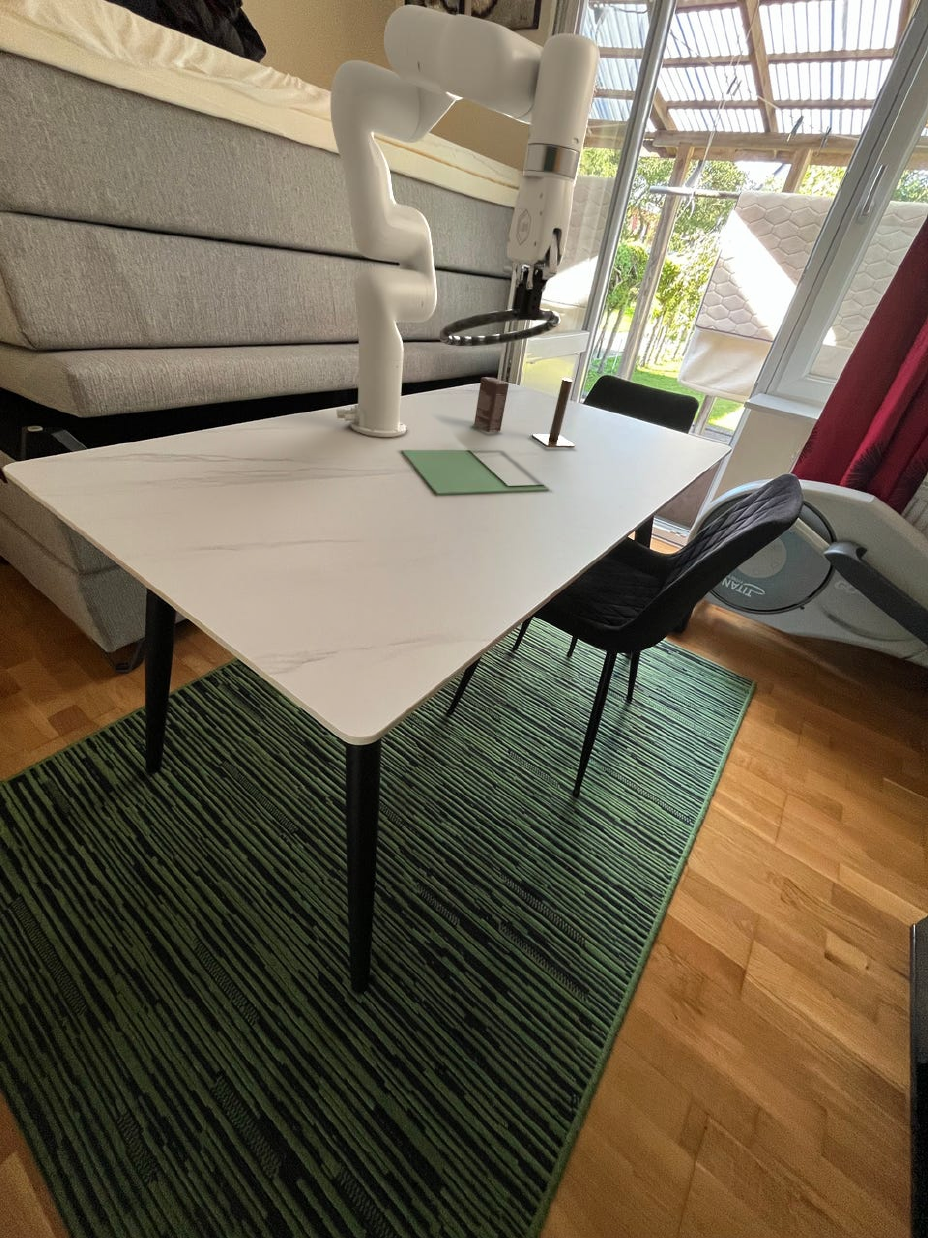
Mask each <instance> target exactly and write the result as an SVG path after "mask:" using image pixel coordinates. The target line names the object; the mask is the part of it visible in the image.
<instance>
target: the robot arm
mask: <svg viewBox="0 0 928 1238" xmlns="http://www.w3.org/2000/svg"><path fill="white" fill-rule="evenodd" d="M383 47H384V52H385V56H386V59H387V61H388V63H389V66H390V67H391V69H392V70H390V69H388V68H386V67H382V66H381V65H377V64H375V63H372V62H369V61H365V60H359V59H351V60H347V61H345V62H344V63H342V64H340V65H339V67H338V68H337V70H336V71H335V74H334V77H333V79H332V84H331V91H330V104H329V105H330V121H331V127H332V132H333V135H334V140H335V143H336V147H337V148H336V149H337V150H338V154H339V158H340V160H341V164H342V168H343V172H344V173H343V174H344V178H345V185H346V193H347V199H348V205H349V213H350V219H351V226H352V232H353V238H354V242H355V246H356V248H357V250H358V252H359V253H360V255H362V256H363V257H365V258H366V259H367V258H368V259H371V260H375V261H383V262H390V263H399V268H398V267H392V266H383V265H374V266H367V267H366V268H364V269H362V270H361V271H360V272H359V273H358V274H357V277H356V278H355V282H354V302H355V306H356V307H355V308H356V314H357V322H358V323H357V324H358V379H357V380H358V384H357V385H358V386H357V387H358V389H357V390H358V391H357V392H358V393H357V404H354V407H350V409H345V408H336V418H337V419H344V421H350V428H352V430H354V431H355V432H358V434H359V433H360V434H363V435H366V436H371V437H376V438H377V437H378V438H394V437H399V436H402V435H404V434H405V433H406V431H407V429H406V427H407V426H406V424H404V422H402V421H400V419H401V417H400V416H401V401H402V387H403V386H402V385H403V371H404V370H403V369H404V352H405V350H404V349H405V348H404V342H403V338H402V336H401V333H400V331H399V329H398V327H397V324H398V323H399V324H400V323H406V324H407V323H408V324H409V323H411V324H412V323H413V324H420V323H425V322H427V321H429V320H430V319H431V318H432V317H433V315H434V312H435V310H436V305H437V283H436V282H437V281H436V273H435V263H434V253H433V251H434V250H433V242H432V234H431V229H430V226H429V224H428V221H427V219H426V218H425V216H424V215H423V214H422V212H421V211H420V210H418V209H416V208H415V207H412V206H409V205H406V204H401V203H397V202H396V200H395V197H394V194H393V189H392V179H391V172H390V168H389V166H388V163H387V160H386V158H385V155H384V153H383V152H382V150H381V148H380V146H379V145H378V143H377V141H376V140H375V138H374V134H377V135H381V136H384V137H387V138H390V139H394V140H397V141H401V142H403V143H409V144H414V143H418V142H420V141H421V140H423V139H424V138H426V136H427V135H428V134H429V133H430V132H431V131H432V130H433V128H434V127H435V126H436V125H437V123H438V122H439V121H440V120H441V119H442V117H443V116H444V115H445V114H447V112H448V111H449V109H450V108H451V107H452V106H453V104H454V103H455V102H456V101H460V100H463V99H464V100H466V101H469V102H472V103H474V104H476V105H479V106H481V107H484V108H486V109H489V110H492V111H494V112H496V113H500V114H502V115H504V116H508V117H509V118H512V119H514V120H516V121H518V122H521V123H524V124H527V125H530V126H529V133H528V139H527V145H526V152H525V158H524V164H523V165H524V166H523V170H522V171H523V172H522V179H521V182H520V186H519V188H518V192H517V196H516V200H515V203H514V207H513V208H514V209H513V214H512V219H511V224H510V229H509V235H508V239H507V247H506V257H507V259H508V260H509V261H512V263H511V266H512V269H513V270H514V272H515V275H516V276H515V283H514V284H515V292H514V296H513V297H514V298H513V304H512V310H513V309H520V312H519V318H520V319H524V320H523V321H535V322H536V321H538V320H537V319H538V314H539V309H541V304H542V303H541V302H542V298H543V293H544V292H545V291H546V287H547V283H548V282H549V280H550V279H553V277H556V275H557V269H558V267H559V266H560V265H561V263H562V260H563V258H564V254H565V250H566V245H567V241H568V240H567V239H568V235H569V229H570V222H571V218H572V217H571V215H572V209H573V201H574V199H573V198H574V188H575V186H576V181H577V176H578V172H579V166H580V161H581V156H582V152H583V147H584V141H585V138H586V133H587V127H588V123H589V122H588V121H589V116H590V113H591V108H592V102H593V98H594V92H595V88H596V83H597V77H598V73H599V66H600V61H601V55H600V53H601V52H600V49H599V46H598V44H597V43H596V42H595V41H594V40H592V39H591V38H589V37H587V36H585V35H583V34H582V35H581V34H578V33H571V32H570V33H569V32H561V33H557V34H554V35H551V36H550V37H548V39H547V40H546V41H545V43H544V44H543V46H542V45H539V44H537V43H534V42H533V41H531V40H529V39H528V38H527V37H524V36H522V35H521V34H519V33H518V32H515V31H513V30H511V29H509V28H508V27H505V26H504V25H501V24H498V23H495V22H493V21H490V20H486V19H482V18H478V17H476V16H475V17H474V16H471V15H467V14H461V13H458V14H451V13H446V12H444V11H440V10H436V9H433V8H429V7H425V6H421V5H417V4H405V5H401V6H399V7H398V8H396V9H395V10H394V11H393V12H392V13H391V14H390V16H389V18H388V20H387V21H386V24H385V27H384V33H383Z"/></svg>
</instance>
